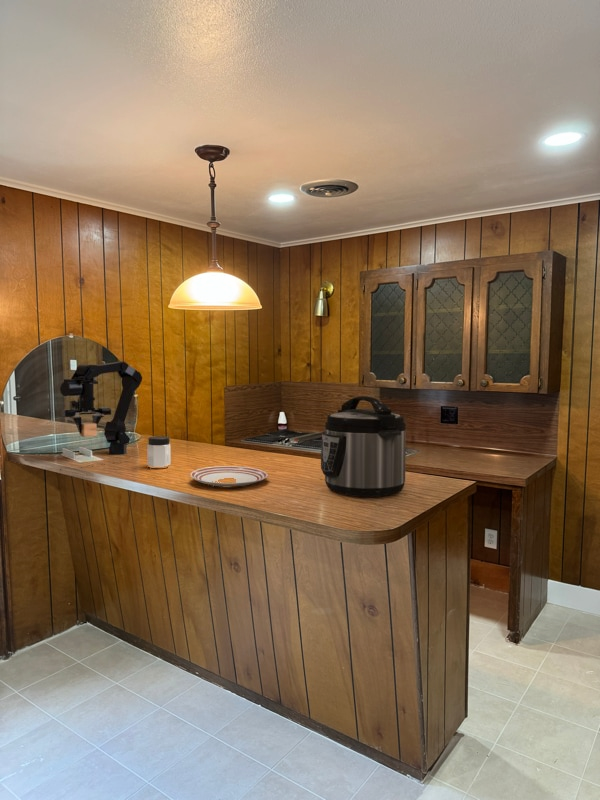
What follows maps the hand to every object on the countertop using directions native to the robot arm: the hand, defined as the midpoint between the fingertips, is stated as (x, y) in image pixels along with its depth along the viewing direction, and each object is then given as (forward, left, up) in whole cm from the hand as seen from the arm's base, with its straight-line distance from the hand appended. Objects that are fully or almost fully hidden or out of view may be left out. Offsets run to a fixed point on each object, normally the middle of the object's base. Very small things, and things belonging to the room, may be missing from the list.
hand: (86, 432), depth 228 cm
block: (-1, +1, -1) cm, 2 cm away
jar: (-32, +5, -13) cm, 35 cm away
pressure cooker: (-112, +34, -13) cm, 118 cm away
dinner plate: (-65, +27, -13) cm, 72 cm away
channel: (+5, -5, -12) cm, 14 cm away
